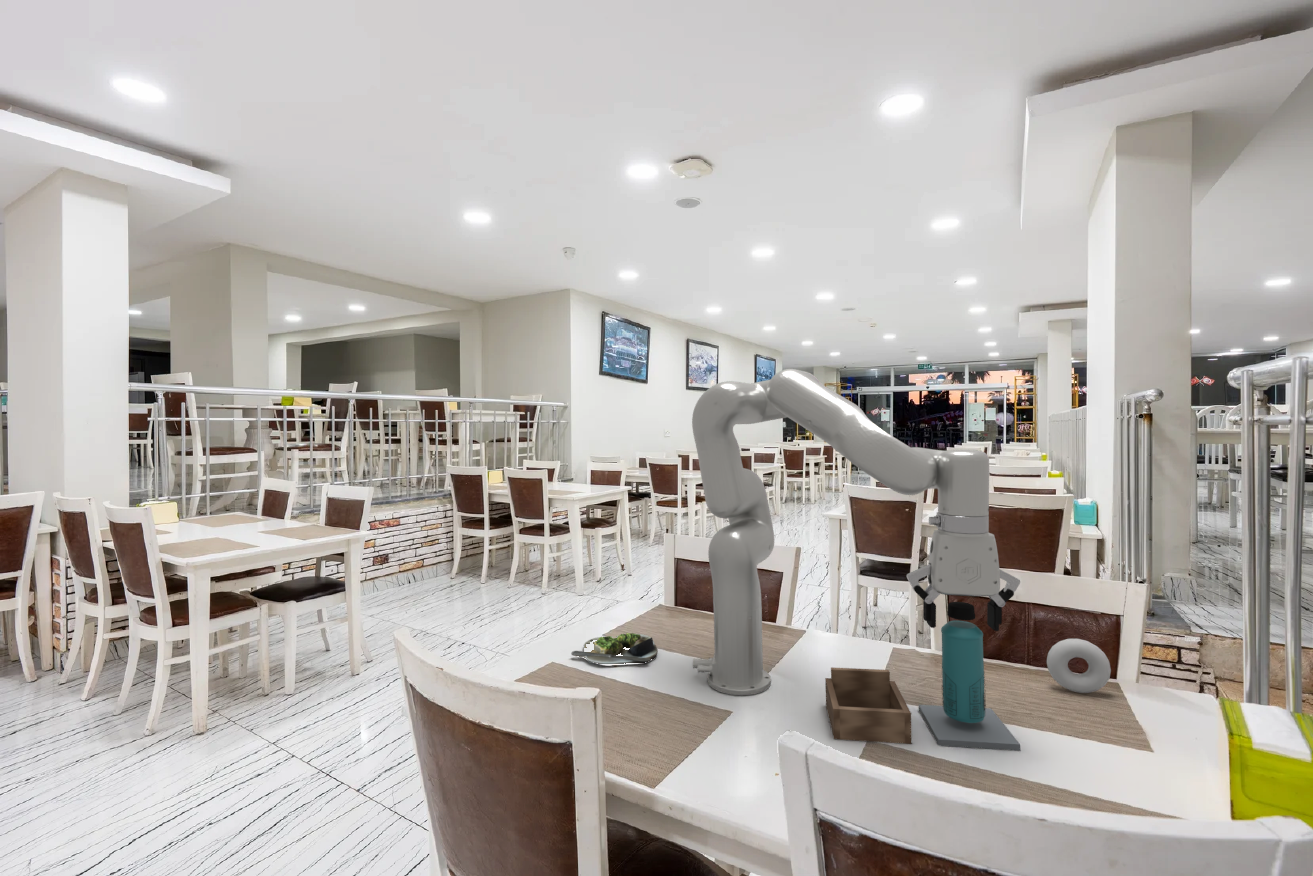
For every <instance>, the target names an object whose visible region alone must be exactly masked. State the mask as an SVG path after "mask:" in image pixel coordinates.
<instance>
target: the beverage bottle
mask: <svg viewBox="0 0 1313 876" xmlns="http://www.w3.org/2000/svg"><path fill="white" fill-rule="evenodd" d="M947 606H948V607H947V611H946V612H947V616H948V617H949V618H951V619H954V620H950V621H948V622H946V623H945V624H944V625H943V626H941V629H940V631H941V632H940V633H941V680H942V682H941V688H942V697H941V700H942V705H941V706H943V709H944V712H945V714H946V715H947V716H949V717H950V718H952V719H955V720H957V721H961V722H966V723H977V722H981V721H983V719H984V717H985V712H986V711H985V709H986V708H987V707H986V705H987V704H986V696H987V695H986V692H985V687H986V682H985V681H986V678H985V666H986V665H985V663H984V662H985V661H984V641H983V640H984V638H983V637H984V633H983V631H982V630H981V629H980V628H979V626H977V625H976V624H974V623H973V622H969V621H973V620H975V619H976V611H975V607H974V605H973V604H971V603H968V602H963V601H951V602H949V603H948V605H947Z"/></svg>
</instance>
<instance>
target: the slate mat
mask: <svg viewBox="0 0 1313 876" xmlns="http://www.w3.org/2000/svg"><path fill="white" fill-rule="evenodd" d="M917 706H918V711H919V714H920V716H921V717H922V720H924V721H923V722H924V723H925V724H926V726H927V728H928V730H929V732H930V733H931V736H932V737H933V739H934V741H935V742H936V744H937V746H939V747H952V748H955V747H956V748H968V749H983V750H984V749H985V750H986V749H987V750H1002V751H1015V752H1016V751H1018V752H1019V751H1021V743H1020V742H1019V741H1018V740H1017V738H1015V736H1014V735H1013V733H1012V732H1011V731H1010V730H1009V728H1008V727H1007V726H1006V724H1005V723H1004V722H1003V721H1002V720H1001V719H1000V717H999V716H998V715H997V714H996V713H995V711H994V710H993V708H990V707H985V708H986V709H985V711H986V712H985V717H984V719H983V721H981V722H977V723H966V722H961V721H957V720H955V719H952V718H950V717H949V716H947V715H946V714H945V712H944V709H943V705H937V704H936V705H933V704H918V705H917Z"/></svg>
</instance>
